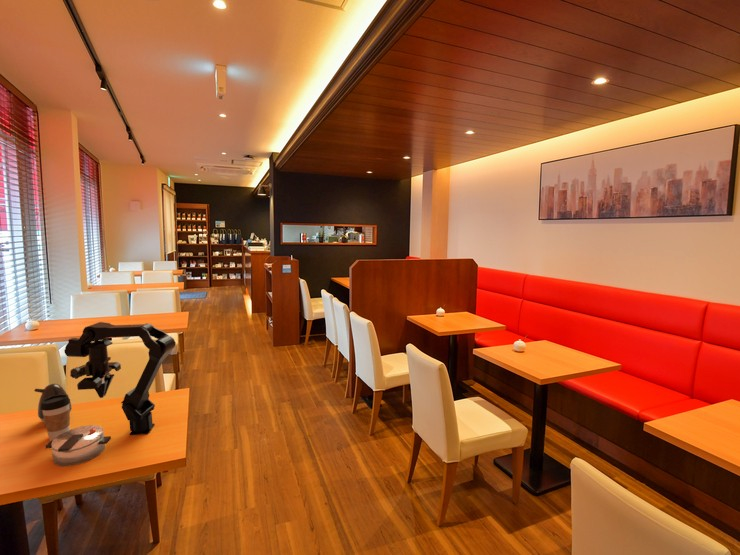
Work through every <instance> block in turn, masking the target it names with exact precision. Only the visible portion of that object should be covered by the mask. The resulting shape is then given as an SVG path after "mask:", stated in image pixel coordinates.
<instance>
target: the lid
mask: <svg viewBox="0 0 740 555" xmlns="http://www.w3.org/2000/svg"><path fill="white" fill-rule="evenodd" d="M103 434H104V428H103V427H102V426H99V425H95V424H94V425H93V424H92V425H82V426H78V427H75V428H72V429H71V428H70V430H69V431H66V432H64V433H62V434H60V435H59V436H57V437H56V438H55V439H54V440H53V441H52V444H51V445H52V448H51V450H52V449H53V450H54V451H57V452H69V451H75V450H79V449H82V448H85V447H87V446H89V445H91V444H93V443H95V442H97V441H98V440H99V439H100V438H101V437H102V436H103ZM104 435H105V434H104Z"/></svg>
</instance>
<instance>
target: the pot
mask: <svg viewBox="0 0 740 555" xmlns="http://www.w3.org/2000/svg"><path fill="white" fill-rule="evenodd" d="M111 439H112V436H111V435H110V436H109V435H108V436H105V434H103V436H102V437H101V438H100V439H99V440H98V441H97V442H95V443H93V444H91V445H89V446H87V447H85V448H82V449H79V450H75V451H69V452H57V451H54V450H53V449H52V445H51V444H52V441H53V440H52V441H51V440H49V442H48V443H46V445H44V446H45V449H51V451H52V458H53V463H54V464H55V465H56V466H59V467H71V466H76V465H80V464H84V463H86V462H89V461H90V460H92V459H94V458H96V457H98V456H100V454H101V453H103V452H104V450H105V449H106V444H108V443H109V442H110V441H111Z"/></svg>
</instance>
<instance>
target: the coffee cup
mask: <svg viewBox="0 0 740 555" xmlns="http://www.w3.org/2000/svg"><path fill="white" fill-rule="evenodd" d="M70 402H71V399H70V397H69V394H67V395H66V394H60V395H54V396H50V397H47V398H45V399H44V400H42V402H41V406H40V407H41V408H40V409H41V410H42V411H43V418H44V422H45V423H44V422H43V423H44V425H45V428H46V432H47V435H48V439H49V441H52V440H54V439H55V438H56V437H57V436H59V435H60V434H62V433H64V432H66V431H69V430H71V426H70V425H71V412H70V407H69V403H70Z"/></svg>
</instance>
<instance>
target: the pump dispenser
mask: <svg viewBox="0 0 740 555" xmlns="http://www.w3.org/2000/svg"><path fill="white" fill-rule="evenodd" d="M34 392H36V393H40V394H41V395H40V397H39V400H38V406H37V407H38V408H37V416H38V418H39V419H40V421H41V422H42V423H44V424H45V422H44V418H43V411H42V410H41V409H40V408H41V407H40V406H41V402H42V400H44V399H45V398H47V397H50V396H54V395H60V394H66V395H68V393H67V391H66V390H65V388H64V387H63V386H62V385H60V384H58V383H50V384H48V385H46V386H45V387H44V388H34ZM72 406H73V405H72V403H71V401H70V403H69V407H70V413H71V411H72V408H73V407H72Z"/></svg>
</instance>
